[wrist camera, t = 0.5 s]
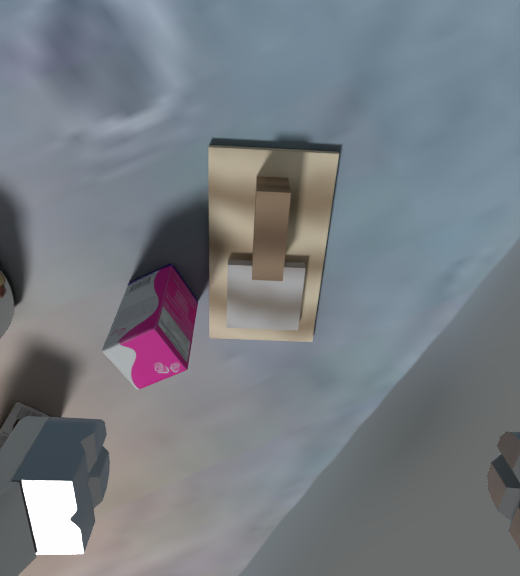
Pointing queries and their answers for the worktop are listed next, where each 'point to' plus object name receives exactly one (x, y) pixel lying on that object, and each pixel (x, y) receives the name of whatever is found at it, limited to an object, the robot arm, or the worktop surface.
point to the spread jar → (6, 301)
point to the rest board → (240, 225)
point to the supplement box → (153, 328)
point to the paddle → (266, 267)
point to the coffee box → (16, 419)
